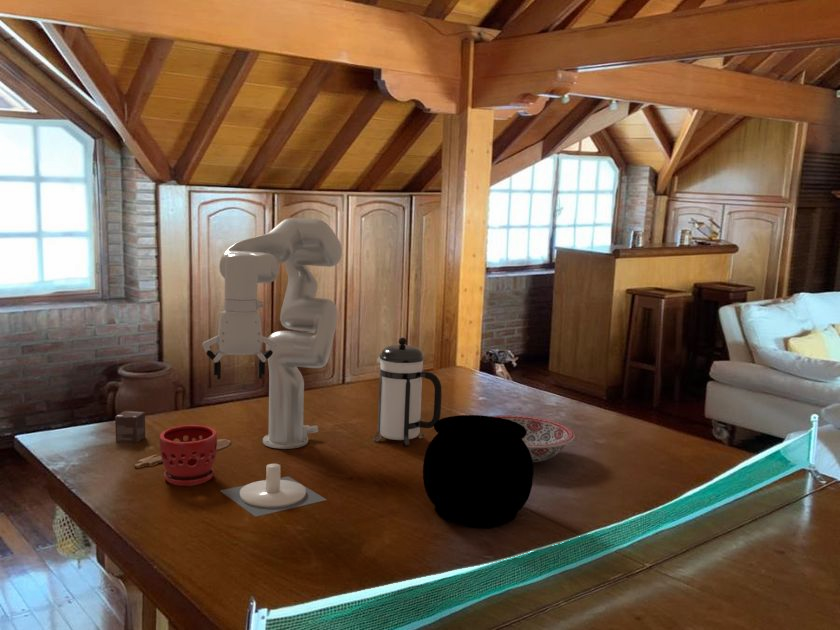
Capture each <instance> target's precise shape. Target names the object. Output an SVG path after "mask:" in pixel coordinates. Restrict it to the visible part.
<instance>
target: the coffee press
mask: <svg viewBox="0 0 840 630" xmlns="http://www.w3.org/2000/svg"><path fill="white" fill-rule="evenodd" d="M407 342H408V341H407V339H406V337H400V338H399V339H398V344H393V345H387V346H386V347H385V348H383V349H382V350H381V353H379V356H378V358H377V360H376V361H377V363H380V366H379V370H378V371H379V385H378V387H379V388H378V389H379V390H378V410H377V411H378V412H377V414H378V415H377V431H376V433H375V434H374V436H373V440H374V441H375V442H377V443H378V442H380V441H381V440H382V439H383V438H384V439H388V440H393V441H394V440H395V441H401V442H402V446H403V448H409V447H410V440H412V439H414V438H419V439H420V440H421V438H422V439H423V438H424V436H425V435H424V434H423V432H422V431H421V428H422V429H431V428H434V424H435V423H436V422H437V421H438V420H440V419H441V413H442V412H441V410H442V395H443V394H442V393H443V392H442V390H443V389H442V384H441V381H440V379H439V378H438V377H437V375H436V374H434V373H432V372H429V371H427V372H426V371H424V368H423V367H424V360H425V355H424V354H423V351H422V350H421V349H420V348H418V347H416V346H412V345H410V344H407ZM423 379H427V380H428V381H429V380H430V381H431V382H432V384H433V386H434V387H433V388H434V398H433V400H434V401H433V416H432V419H431V420H430V421H422V418H421V416H422V415H421V414H422V393H423V392H422V391H423ZM419 434H421V435H420V436H419ZM379 435H380V436H379ZM378 436H379V438H378V439H376V438H377V437H378ZM408 446H409V447H408Z"/></svg>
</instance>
